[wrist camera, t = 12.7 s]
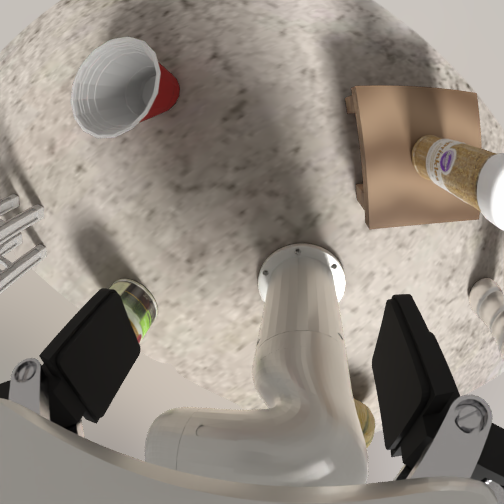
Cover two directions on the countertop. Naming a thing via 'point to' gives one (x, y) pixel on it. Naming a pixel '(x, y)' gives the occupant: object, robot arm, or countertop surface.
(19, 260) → the stool
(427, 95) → the walnut stool
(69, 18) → the countertop surface
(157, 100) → the plastic cup
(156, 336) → the countertop surface
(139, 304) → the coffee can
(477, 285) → the plastic bottle
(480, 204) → the sprinkles bottle
